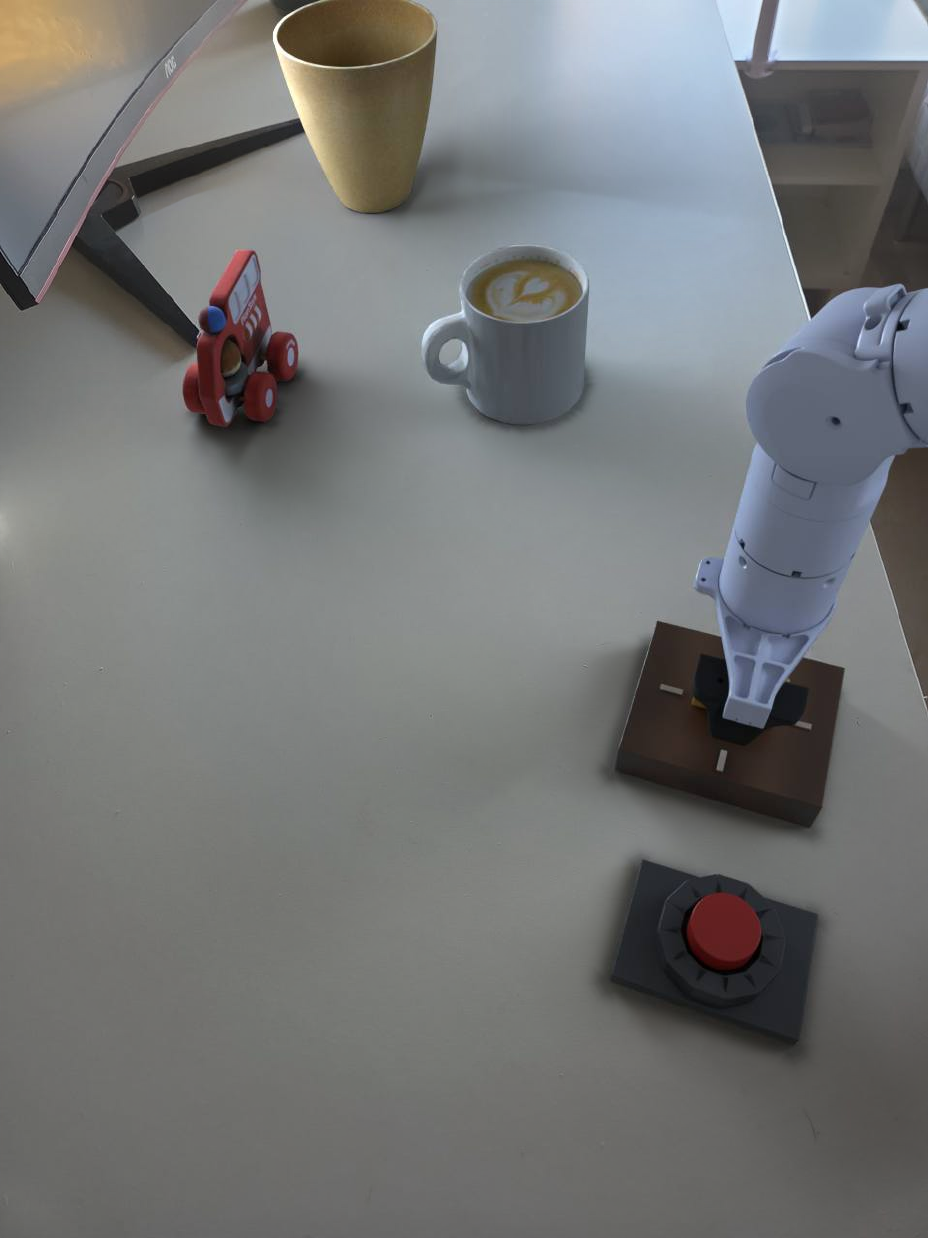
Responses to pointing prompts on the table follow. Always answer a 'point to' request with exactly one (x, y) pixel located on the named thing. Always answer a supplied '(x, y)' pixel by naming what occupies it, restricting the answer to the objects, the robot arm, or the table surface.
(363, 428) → the table surface
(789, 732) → the plate
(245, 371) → the toy fire truck
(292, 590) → the table surface
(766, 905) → the dark grey button mount
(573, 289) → the coffee mug
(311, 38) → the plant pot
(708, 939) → the bell button
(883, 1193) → the table surface
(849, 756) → the table surface
